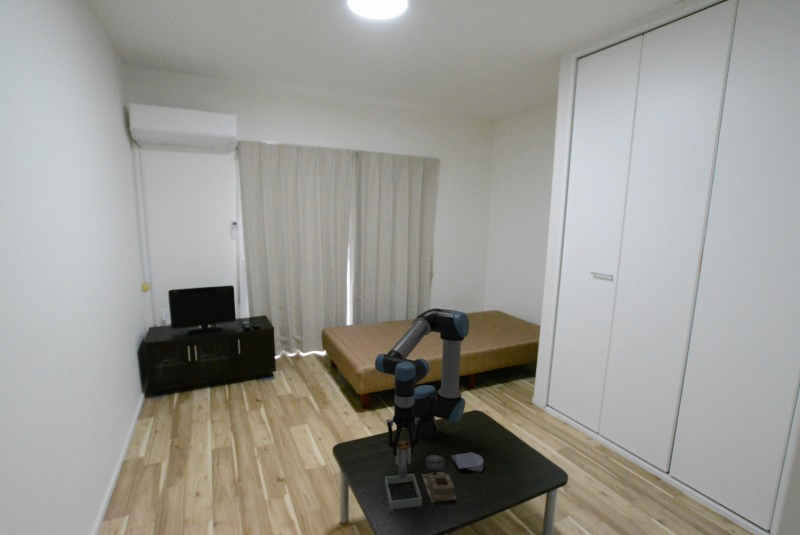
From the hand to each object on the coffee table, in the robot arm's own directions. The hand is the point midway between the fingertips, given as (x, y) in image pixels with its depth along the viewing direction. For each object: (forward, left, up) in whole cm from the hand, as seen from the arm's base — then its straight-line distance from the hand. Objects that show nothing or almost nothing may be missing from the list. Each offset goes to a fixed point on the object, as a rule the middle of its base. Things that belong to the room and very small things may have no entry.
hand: (402, 461), depth 143 cm
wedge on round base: (-13, +32, -15) cm, 38 cm away
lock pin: (0, 0, -6) cm, 6 cm away
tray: (0, 0, -15) cm, 15 cm away
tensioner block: (-3, +15, -15) cm, 21 cm away
